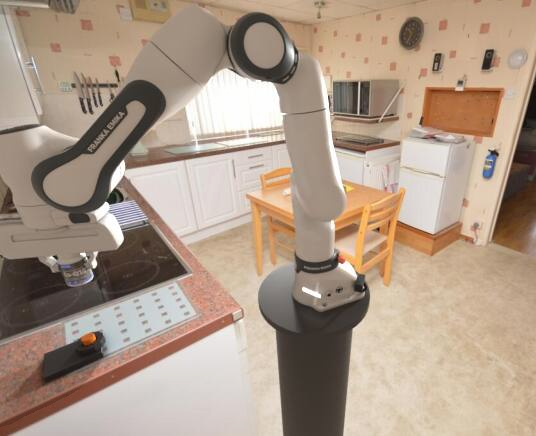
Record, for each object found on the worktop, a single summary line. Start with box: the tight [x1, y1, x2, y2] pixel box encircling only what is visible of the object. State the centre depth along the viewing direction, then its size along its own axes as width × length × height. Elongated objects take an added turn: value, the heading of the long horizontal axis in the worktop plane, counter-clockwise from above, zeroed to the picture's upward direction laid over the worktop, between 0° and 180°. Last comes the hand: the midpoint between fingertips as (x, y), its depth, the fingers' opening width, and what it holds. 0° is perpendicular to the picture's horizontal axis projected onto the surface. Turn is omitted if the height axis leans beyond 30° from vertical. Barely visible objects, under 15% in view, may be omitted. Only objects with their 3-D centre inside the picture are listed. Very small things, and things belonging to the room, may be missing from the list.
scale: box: [42, 330, 107, 383], centre depth 65 cm, size 11×8×3 cm
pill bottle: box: [56, 253, 94, 287], centre depth 63 cm, size 5×5×8 cm
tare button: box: [80, 332, 96, 346], centre depth 66 cm, size 2×2×2 cm
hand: (76, 269), depth 63 cm, fingers closed on pill bottle, 5 cm apart
